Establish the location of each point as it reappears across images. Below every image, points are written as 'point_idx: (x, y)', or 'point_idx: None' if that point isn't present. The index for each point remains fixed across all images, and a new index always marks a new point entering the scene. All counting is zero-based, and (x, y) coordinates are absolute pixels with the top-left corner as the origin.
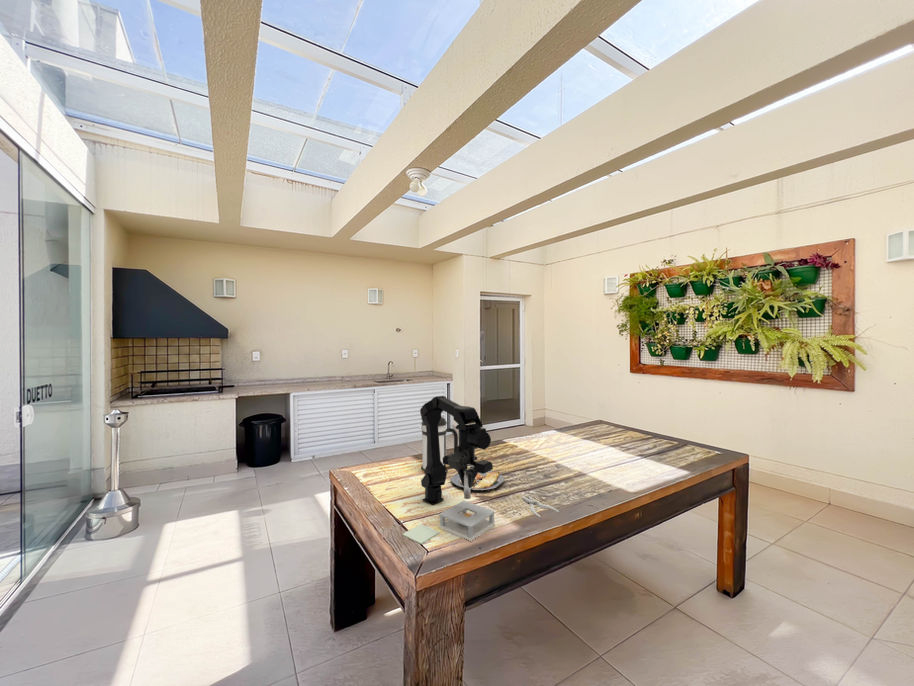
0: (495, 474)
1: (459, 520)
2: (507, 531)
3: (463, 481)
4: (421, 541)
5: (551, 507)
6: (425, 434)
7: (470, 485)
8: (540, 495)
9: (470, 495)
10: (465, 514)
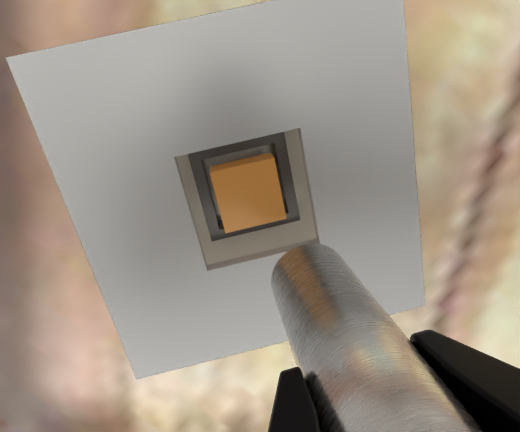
0: None
1: (171, 47)
2: (51, 331)
3: (465, 393)
4: None
5: None
6: None
7: (276, 412)
8: None
9: (280, 315)
10: (269, 193)
